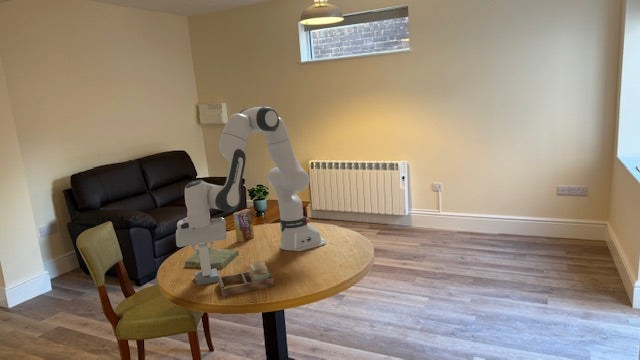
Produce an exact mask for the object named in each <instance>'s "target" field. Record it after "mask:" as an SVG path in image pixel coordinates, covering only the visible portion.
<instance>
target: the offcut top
mask: <svg viewBox="0 0 640 360" xmlns="http://www.w3.org/2000/svg"><path fill="white" fill-rule="evenodd" d="M249 266H250V270H251V272H252V274H253V277H254V276H260V275H265V274H268V272H267V268H268V267H267V265H266V263H265V261H261V262H255V263H250V264H249Z"/></svg>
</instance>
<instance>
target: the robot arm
mask: <svg viewBox="0 0 640 360" xmlns="http://www.w3.org/2000/svg"><path fill="white" fill-rule="evenodd" d="M261 132H262V134H263V135H264V139H265V143H266V146H267V147H266V148H267V150H268V154H269V157H270V160H271V161H272V162H273V163H274V165H276V166H275V167H273V168H271V169H270V170H269V172H268V174H267V181H268V184H270V186H271V187H272V190H273V191H274V194H275V196H276V199H277V203H278V207H279V216H280V217H279V229H280V233H281V234H280V235H281V237H280V244H279V248H280V249H281V250H284V251H295V252H301V251H306V250H310V249H314V248H317V247H321V246H325V245H326V243H327V242H326V239H325V238H324V237H322V236H321V233H320V231H319V230H318V229H317V228H316V227H315V226H313V225H312V224H310V222H311V219H310V218H309V217H306V216H305V215H304V210H303V202H302V199H301V198H300V197H299V196H298V192H303V191H305V190H306V189H308V187H309V185H310V181H311V177H310V175H309V172H307V171H306V170H304V168H303V166H302V165H301V164H300V162H299V160H298V159H297V157H296V155H295V152H294V149H293V146H292V145H293V144H292V143H291V139H290V134H289V132H288V128H287V127H286V124H285V121H284V120H283V118H281V117H280V116H279V114H278V112H277V110H275V109H274V108H273V107H270V106H254V107H250V108H245V109H243V110H240V111H239V112H237V113H233V114H231V115H230V116H229V118H228V119H227V121H226V123H225V125H224V128H223V130H222V133H221V136H220V138H219V143H218V150H219V152H220V154H221V155H222V156H223V157H224V158H225V159H226V160H227V161H228V172H227V176H226V181H225V183H224V185H219V184H218V185H217V184H213V183H208V182H206V181H204V180H202V179H197V180H193V181H190V182H188V183H187V184H186V185H185V187H184V200H185V201H184V202H185V206H186V209H187V211H186V212H187V214H186V215H187V216H186V217H184V218H183V219H180V220H179V221H177V223H176V227H177V229H176V231H175V242H176V247H178V248H183V247H188V246H191V249H193V251H194V252H195V253H196V255H198V254H199V249H198V248H196V245H198V244H201V243H207V244H208V243H209V246H208V251H209V252H212V250H213V249H212V248H213V246H214V242H217V241H222V240H227V238H228V234H227V229H226V227H227V221H226V219H225V218H223V217H220V216H219V217H213V218H211V213H210V209H214V210H215V209H216V210H220V211H222V212H226V213H231V212H233V211H235V210H236V209H237V208H238V206H239V204H240V202H241V187H242V183H243V176H244V172H245V168H246V160H247V159H246V158H247V157H246V152H245V151H246V147H247V142H248V138H249V135H250V133H261ZM195 253H194V254H195Z"/></svg>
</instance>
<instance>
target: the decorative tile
mask: <svg viewBox="0 0 640 360" xmlns="http://www.w3.org/2000/svg"><path fill="white" fill-rule="evenodd" d="M211 250H212V252H209V258H210V266H211V268H212V269H215V268H216V269H219V268H220V269H224V268H226V267H227V266H228V265H229V264H230V263H232V262H233V261H234V260H235V259H236V258H237V257H238V256H239V253H240V252H239V249H223V248H222V249H215V248H214V249H211ZM183 267H184V268H185V267H191V268H196V267H201V264H200V257H199V254H198V255H196V253H194V254H192V255H191V256H190V257H188V258H187V259H186V260H185V261H184V266H183Z"/></svg>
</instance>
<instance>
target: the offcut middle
mask: <svg viewBox="0 0 640 360" xmlns="http://www.w3.org/2000/svg"><path fill="white" fill-rule="evenodd" d="M248 271H249V275H250V277H251V279H252V280H253V281H254V282H255V281H260V280H265V279H270V276H269V273H268V274H265V275H260V276H254V277H253V274H252V272H251V269H250V270H248ZM251 279H250V280H251Z"/></svg>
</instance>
